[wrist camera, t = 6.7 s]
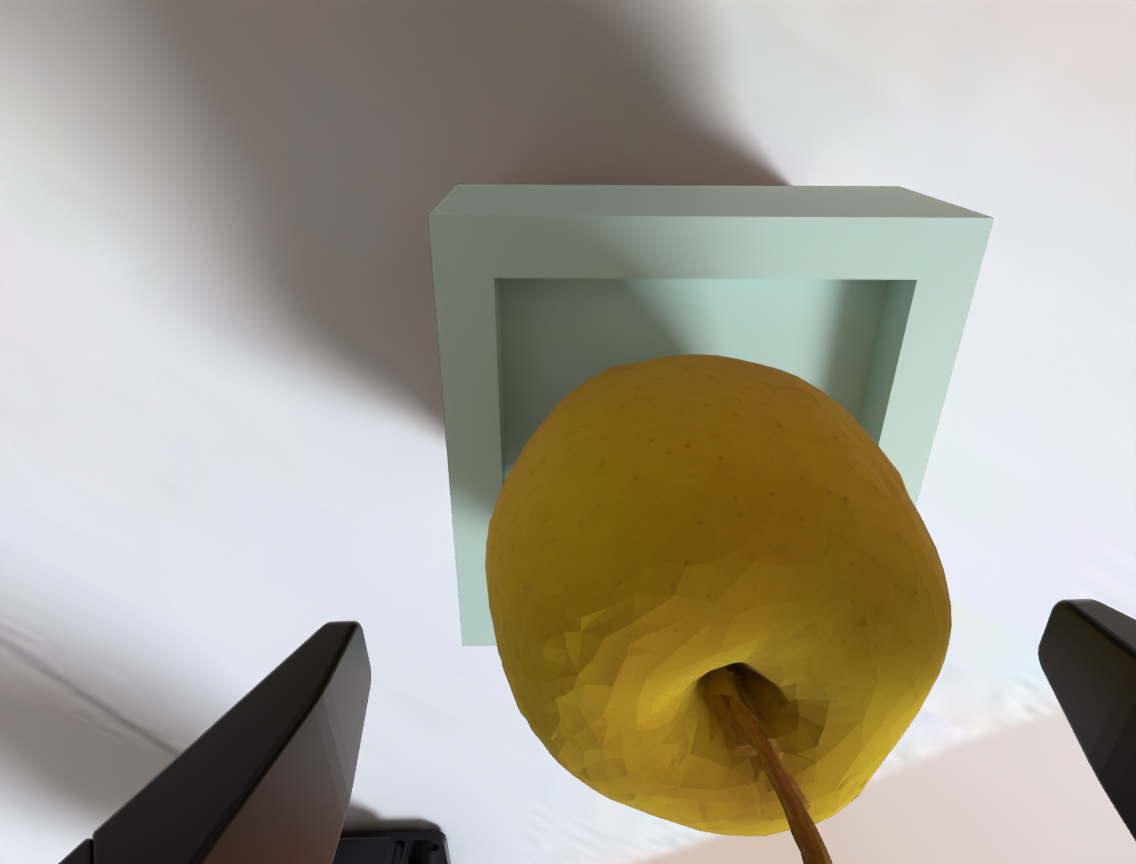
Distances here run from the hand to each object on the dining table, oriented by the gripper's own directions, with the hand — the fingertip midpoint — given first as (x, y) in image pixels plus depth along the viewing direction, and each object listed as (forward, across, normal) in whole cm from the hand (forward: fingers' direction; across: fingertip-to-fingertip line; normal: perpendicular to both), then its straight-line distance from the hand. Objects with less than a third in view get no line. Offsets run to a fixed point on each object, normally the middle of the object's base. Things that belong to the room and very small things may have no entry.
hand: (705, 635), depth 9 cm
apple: (+6, 0, 0) cm, 6 cm away
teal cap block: (+8, 0, 0) cm, 8 cm away
